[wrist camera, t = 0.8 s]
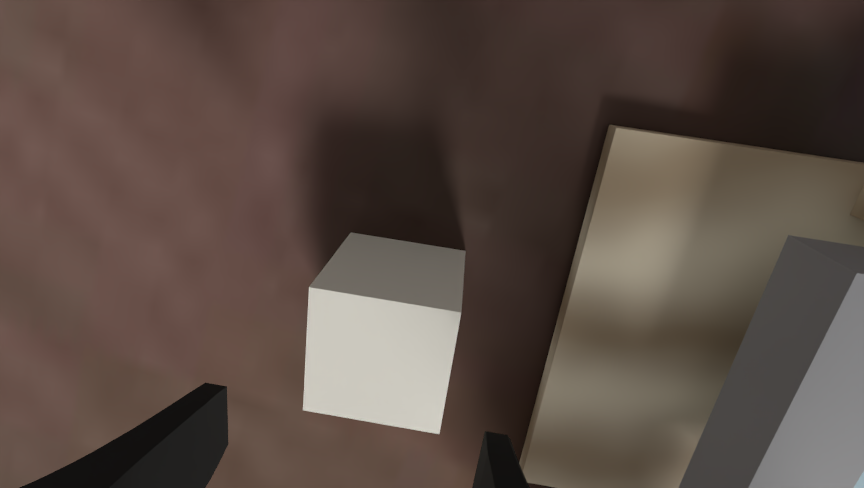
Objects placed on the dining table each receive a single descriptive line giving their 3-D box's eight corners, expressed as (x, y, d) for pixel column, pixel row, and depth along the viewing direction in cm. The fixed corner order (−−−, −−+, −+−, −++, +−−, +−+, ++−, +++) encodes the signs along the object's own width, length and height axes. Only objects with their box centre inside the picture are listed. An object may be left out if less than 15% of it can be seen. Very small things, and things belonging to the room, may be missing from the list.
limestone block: (448, 348, 22) (439, 433, 17) (343, 331, 22) (303, 410, 17) (465, 250, 20) (461, 312, 15) (351, 231, 21) (309, 287, 16)
